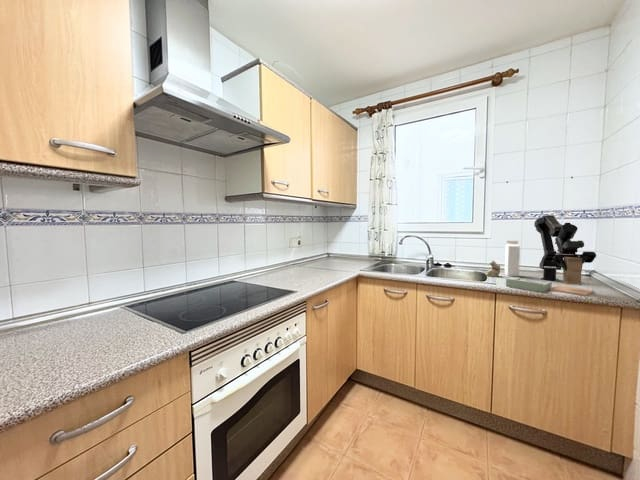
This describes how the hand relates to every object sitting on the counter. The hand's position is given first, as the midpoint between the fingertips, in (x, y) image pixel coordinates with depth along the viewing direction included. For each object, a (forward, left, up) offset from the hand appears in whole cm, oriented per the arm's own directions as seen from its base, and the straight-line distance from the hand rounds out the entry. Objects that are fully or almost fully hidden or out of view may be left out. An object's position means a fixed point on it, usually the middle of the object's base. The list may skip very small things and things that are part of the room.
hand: (573, 270), depth 126 cm
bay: (+5, -16, -10) cm, 19 cm away
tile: (-1, -1, -10) cm, 10 cm away
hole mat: (-6, -20, -10) cm, 23 cm away
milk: (-22, -34, -11) cm, 42 cm away
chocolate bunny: (-11, -40, -11) cm, 43 cm away
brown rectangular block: (-1, -1, -7) cm, 7 cm away
